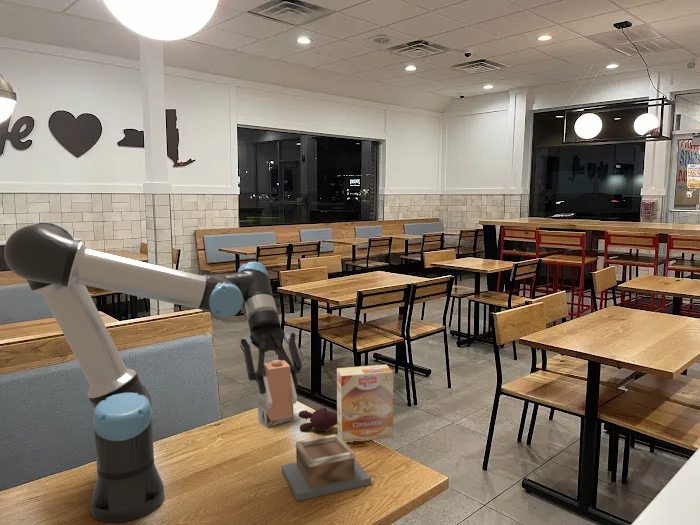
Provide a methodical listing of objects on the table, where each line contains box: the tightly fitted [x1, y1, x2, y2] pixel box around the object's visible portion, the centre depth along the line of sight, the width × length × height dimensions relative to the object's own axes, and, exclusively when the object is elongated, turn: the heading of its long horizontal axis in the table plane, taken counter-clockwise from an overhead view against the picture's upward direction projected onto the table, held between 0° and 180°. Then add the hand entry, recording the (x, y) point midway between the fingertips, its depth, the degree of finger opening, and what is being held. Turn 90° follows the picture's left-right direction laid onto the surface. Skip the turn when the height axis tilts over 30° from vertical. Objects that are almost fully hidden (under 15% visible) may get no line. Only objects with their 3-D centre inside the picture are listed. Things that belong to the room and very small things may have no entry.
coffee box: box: [255, 370, 295, 428], centre depth 159 cm, size 9×6×16 cm
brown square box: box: [295, 433, 355, 488], centre depth 127 cm, size 11×11×6 cm
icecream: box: [298, 406, 337, 432], centre depth 153 cm, size 7×7×15 cm
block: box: [264, 359, 292, 421], centre depth 121 cm, size 5×5×13 cm
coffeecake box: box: [336, 364, 394, 444], centre depth 148 cm, size 15×7×20 cm, turn 102°
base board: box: [280, 458, 372, 502], centre depth 127 cm, size 18×14×2 cm
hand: (282, 403), depth 118 cm, fingers closed on block, 5 cm apart
